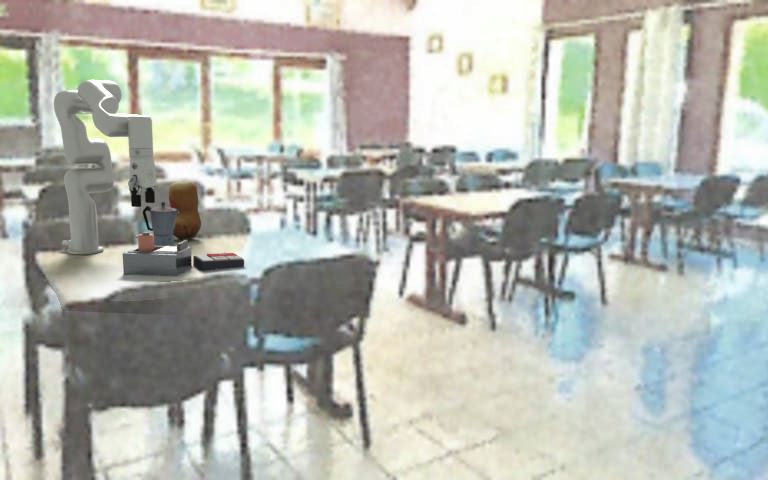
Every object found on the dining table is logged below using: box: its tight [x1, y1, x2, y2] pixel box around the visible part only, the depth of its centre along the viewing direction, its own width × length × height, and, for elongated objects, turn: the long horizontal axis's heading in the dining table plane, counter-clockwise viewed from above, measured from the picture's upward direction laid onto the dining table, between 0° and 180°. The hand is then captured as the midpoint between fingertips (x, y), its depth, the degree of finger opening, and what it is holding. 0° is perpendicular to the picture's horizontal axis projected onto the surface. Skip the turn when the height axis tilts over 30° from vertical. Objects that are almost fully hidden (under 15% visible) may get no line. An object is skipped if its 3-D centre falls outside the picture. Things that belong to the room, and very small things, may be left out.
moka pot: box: [142, 201, 179, 246], centre depth 252 cm, size 10×15×20 cm, turn 78°
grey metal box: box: [122, 246, 193, 277], centre depth 228 cm, size 18×14×7 cm
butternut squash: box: [168, 179, 202, 241], centre depth 281 cm, size 14×13×25 cm
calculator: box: [192, 252, 245, 272], centre depth 236 cm, size 11×4×15 cm
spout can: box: [134, 231, 154, 252], centre depth 227 cm, size 5×6×10 cm
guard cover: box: [156, 240, 190, 253], centre depth 226 cm, size 8×8×3 cm
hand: (143, 204), depth 225 cm, fingers open, 9 cm apart
